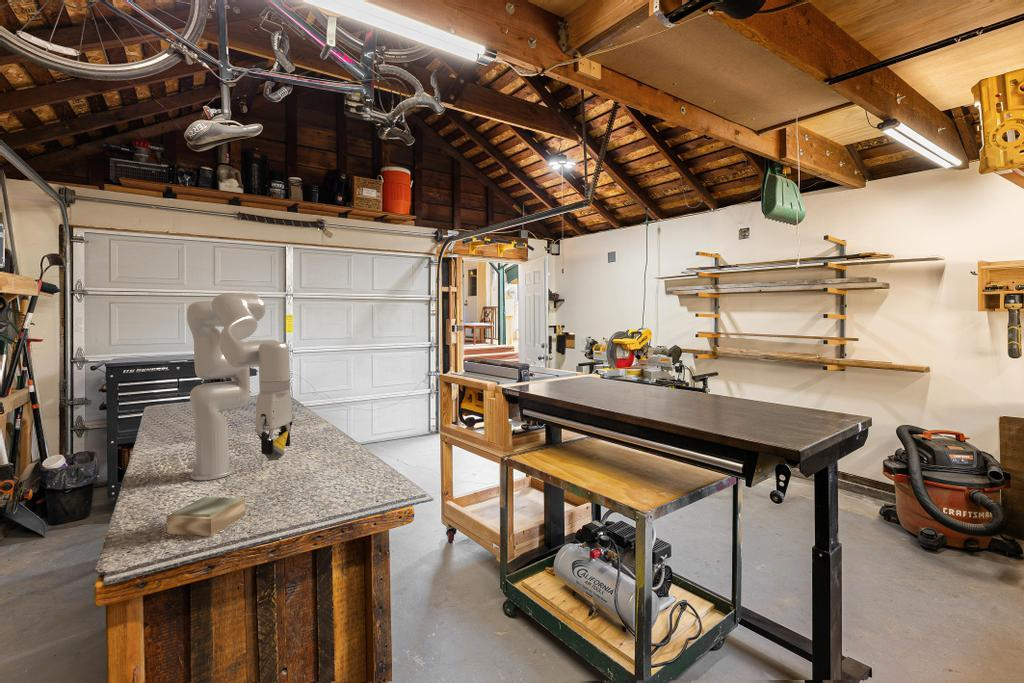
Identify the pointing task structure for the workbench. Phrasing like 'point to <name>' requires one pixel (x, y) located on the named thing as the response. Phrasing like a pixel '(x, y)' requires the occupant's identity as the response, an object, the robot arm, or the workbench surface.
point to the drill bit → (278, 447)
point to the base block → (206, 516)
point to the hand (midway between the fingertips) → (276, 449)
